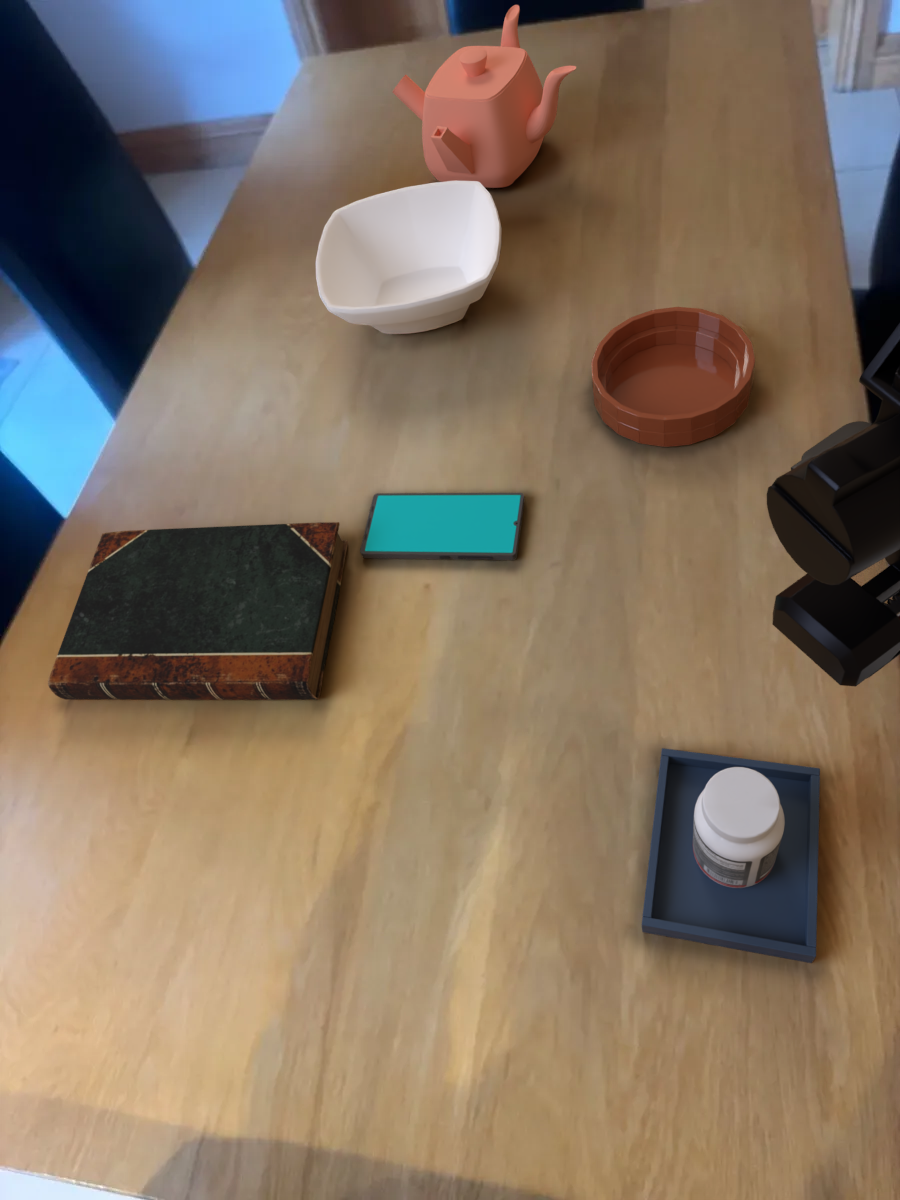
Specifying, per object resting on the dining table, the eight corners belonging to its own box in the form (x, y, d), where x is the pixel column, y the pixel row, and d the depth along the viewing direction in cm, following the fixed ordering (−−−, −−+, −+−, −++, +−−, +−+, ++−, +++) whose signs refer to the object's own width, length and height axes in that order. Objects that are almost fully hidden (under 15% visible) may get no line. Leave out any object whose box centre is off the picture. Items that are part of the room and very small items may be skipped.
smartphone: (374, 493, 90) (524, 492, 86) (376, 498, 91) (525, 498, 87) (358, 554, 86) (515, 556, 83) (361, 559, 87) (516, 561, 83)
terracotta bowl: (679, 317, 96) (679, 286, 93) (785, 391, 88) (789, 360, 85) (564, 390, 94) (560, 361, 91) (662, 474, 86) (662, 445, 82)
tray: (661, 758, 71) (661, 747, 69) (816, 778, 68) (820, 767, 66) (642, 932, 64) (641, 925, 62) (812, 963, 61) (816, 956, 59)
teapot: (529, 105, 124) (516, -5, 113) (585, 171, 113) (576, 57, 102) (405, 154, 123) (379, 49, 112) (450, 225, 113) (426, 116, 102)
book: (350, 542, 89) (119, 550, 94) (339, 519, 86) (101, 530, 91) (319, 704, 79) (65, 703, 85) (306, 685, 76) (43, 685, 82)
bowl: (334, 383, 101) (309, 322, 94) (340, 265, 113) (318, 204, 106) (518, 350, 98) (507, 285, 91) (505, 233, 110) (494, 167, 103)
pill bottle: (750, 800, 67) (762, 745, 59) (790, 872, 64) (808, 825, 56) (678, 828, 67) (679, 777, 59) (714, 902, 64) (721, 859, 56)
